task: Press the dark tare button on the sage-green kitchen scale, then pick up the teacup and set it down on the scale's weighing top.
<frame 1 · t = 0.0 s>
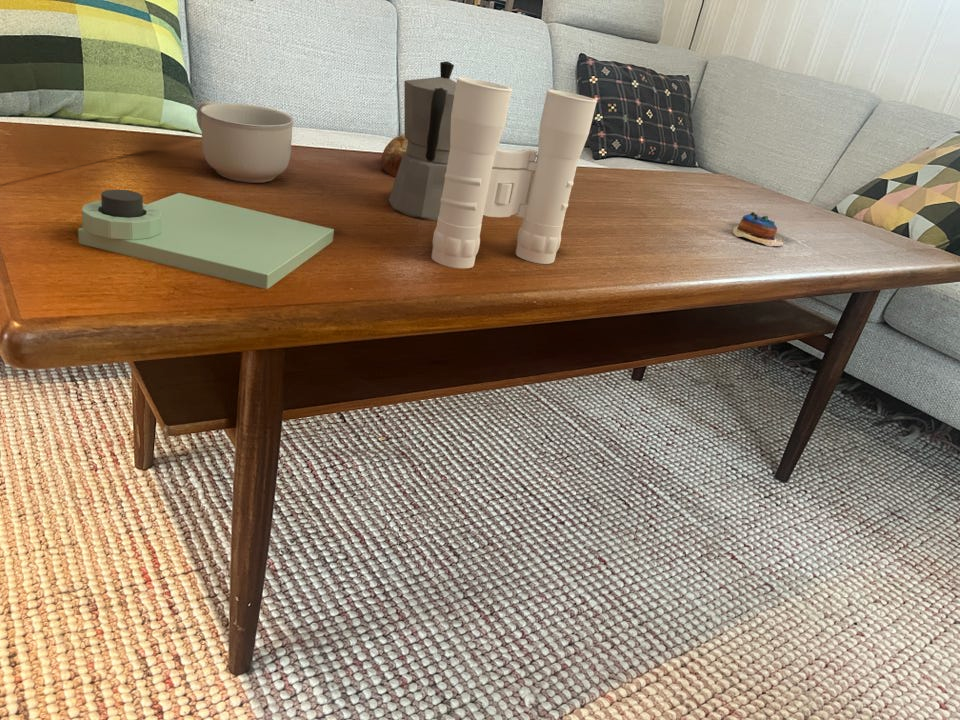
scale: (217, 243, 69), on the table
tare button: (122, 204, 63), point 4 cm above the table, slide at 0.1 cm
bread roll: (416, 176, 111), on the table
coffeepot: (423, 213, 93), on the table
dessert: (756, 240, 116), on the table
binoculars: (495, 260, 81), on the table
teacup: (237, 174, 93), on the table
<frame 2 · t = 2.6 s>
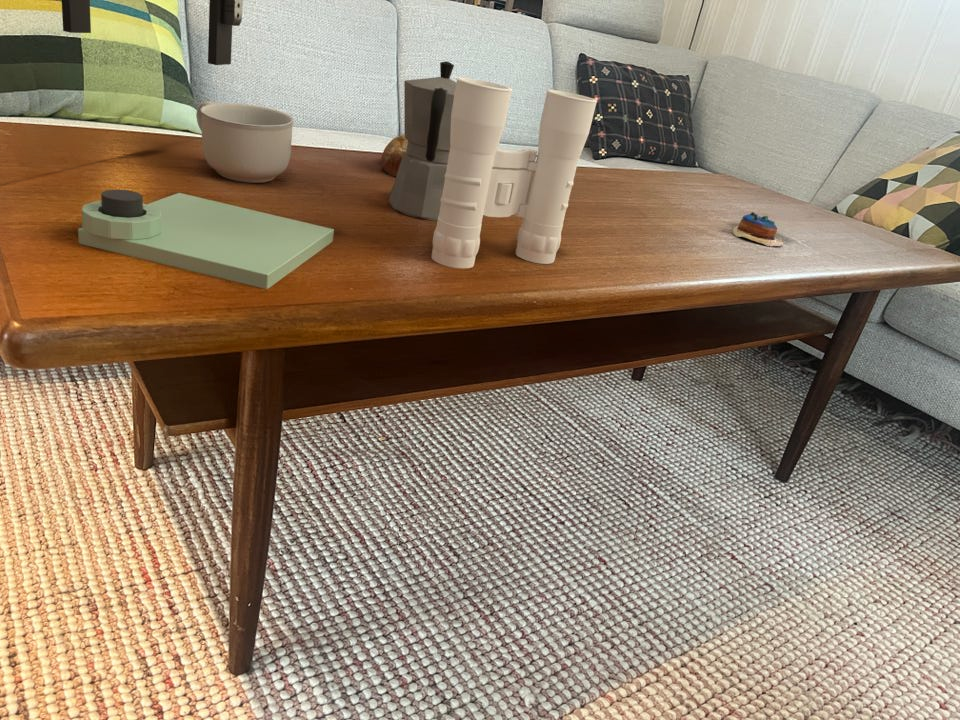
hand: (147, 48, 65), 16 cm above the table, tool pointing down, fingers open, 13 cm apart
nothing on the table moved.
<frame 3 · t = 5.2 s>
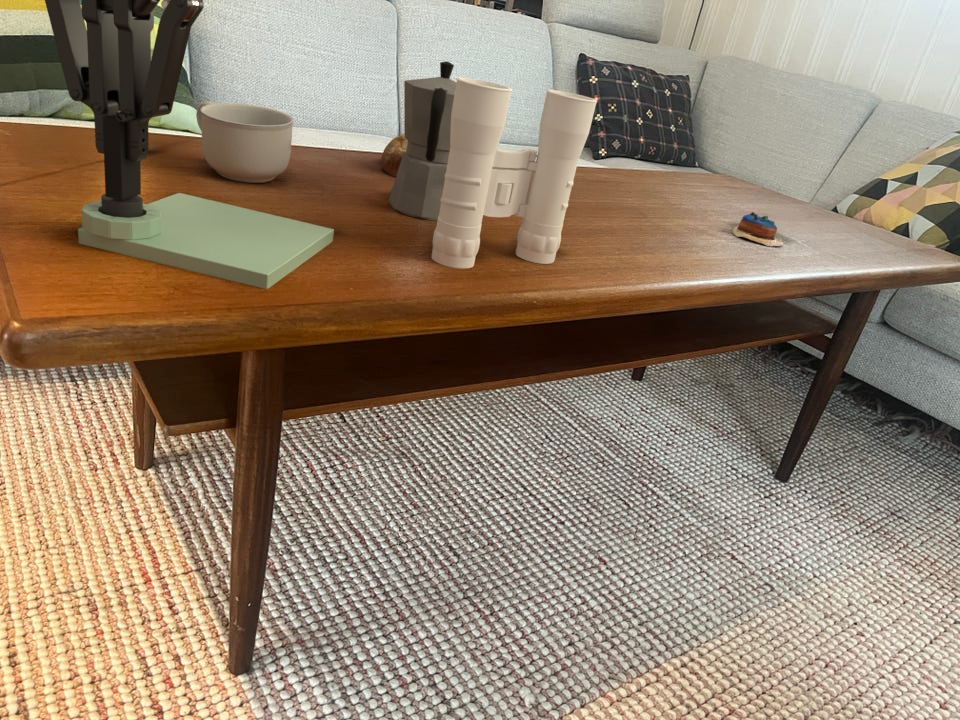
hand: (123, 195, 62), 4 cm above the table, tool pointing down, fingers closed
tare button: (122, 207, 63), point 3 cm above the table, slide at -0.1 cm, touching gripper
everything else where it was.
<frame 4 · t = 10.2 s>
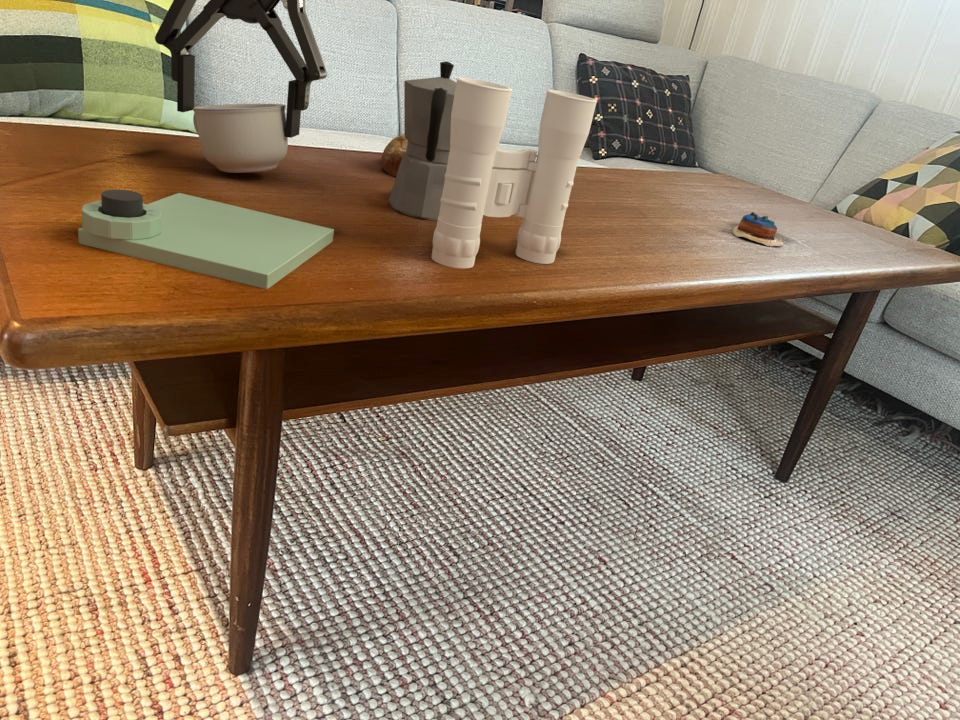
hand: (238, 124, 91), 6 cm above the table, tool pointing down, fingers open, 13 cm apart
tare button: (122, 204, 63), point 4 cm above the table, slide at 0.1 cm
teacup: (240, 171, 92), on the table, touching gripper
everything else where it was.
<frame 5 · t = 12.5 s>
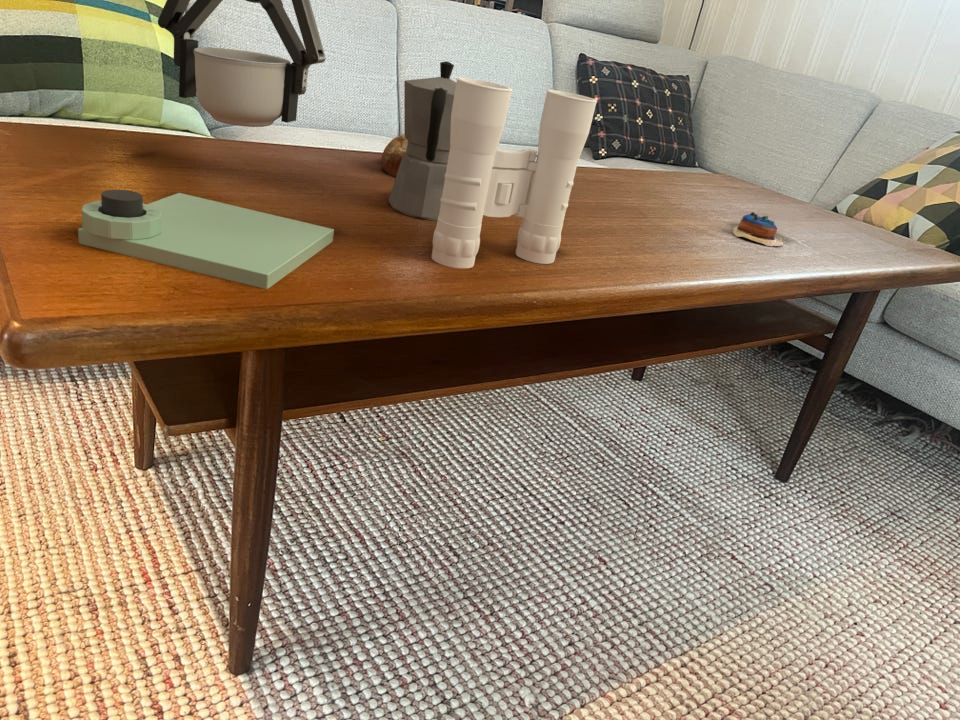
hand: (237, 109, 89), 8 cm above the table, tool pointing down, fingers closed on teacup, 12 cm apart
teacup: (234, 122, 89), point 6 cm above the table, touching gripper
everything else where it was.
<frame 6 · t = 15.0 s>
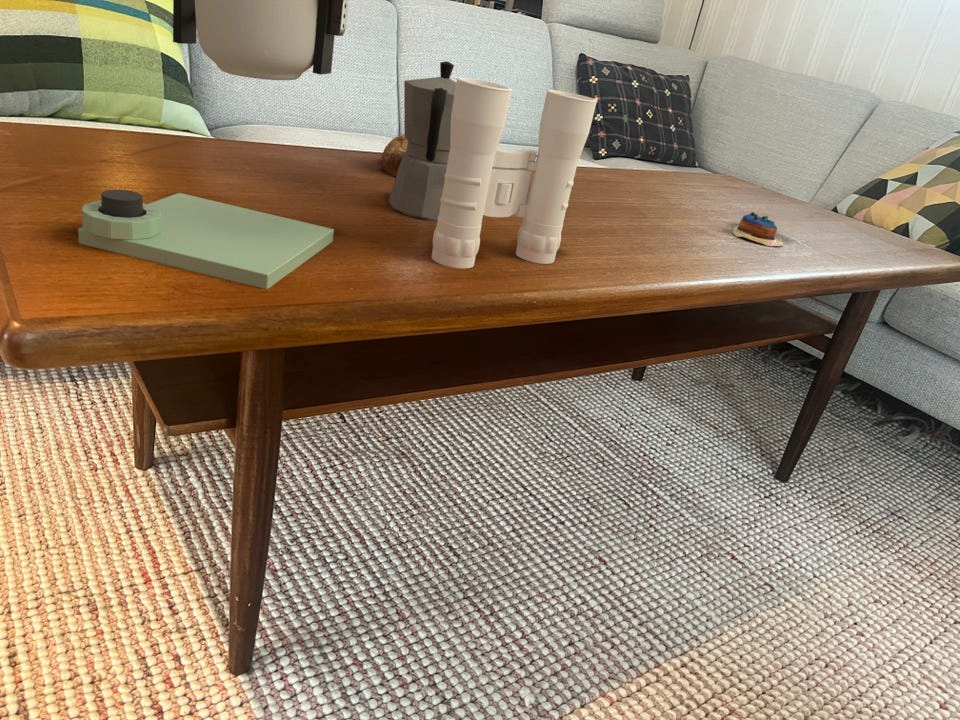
hand: (252, 58, 66), 16 cm above the table, tool pointing down, fingers closed on teacup, 12 cm apart
teacup: (249, 76, 67), point 15 cm above the table, touching gripper
everything else where it was.
when the fingers open (3 cm above the table, at t = 19.3 s): teacup stays where it is, resting on scale.
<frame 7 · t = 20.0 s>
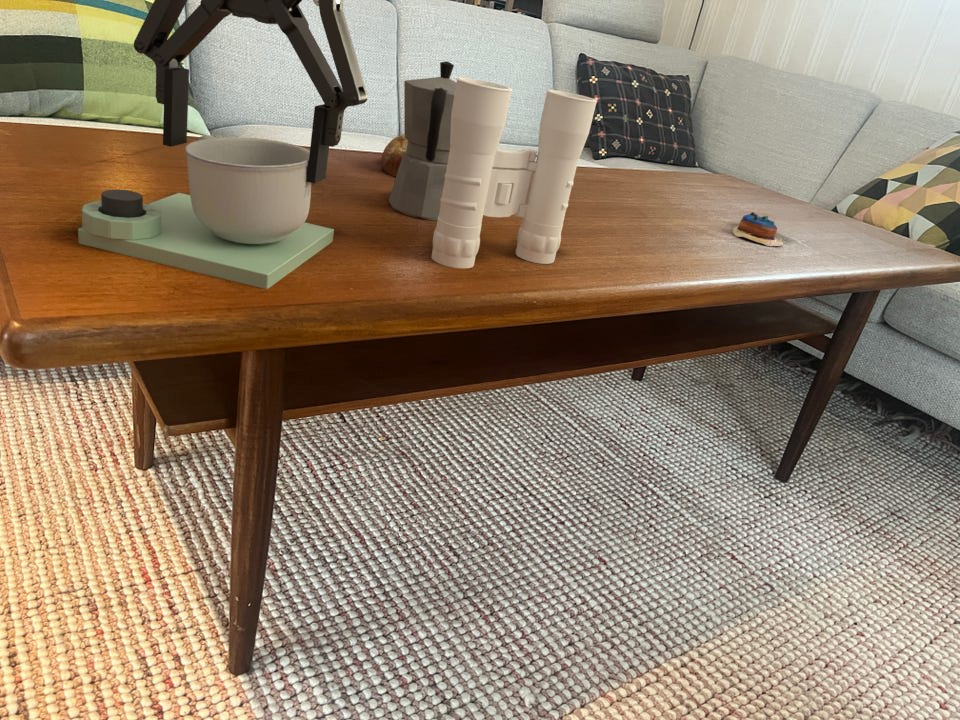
hand: (245, 162, 66), 8 cm above the table, tool pointing down, fingers open, 13 cm apart
teacup: (242, 232, 69), point 1 cm above the table, touching scale
everything else where it was.
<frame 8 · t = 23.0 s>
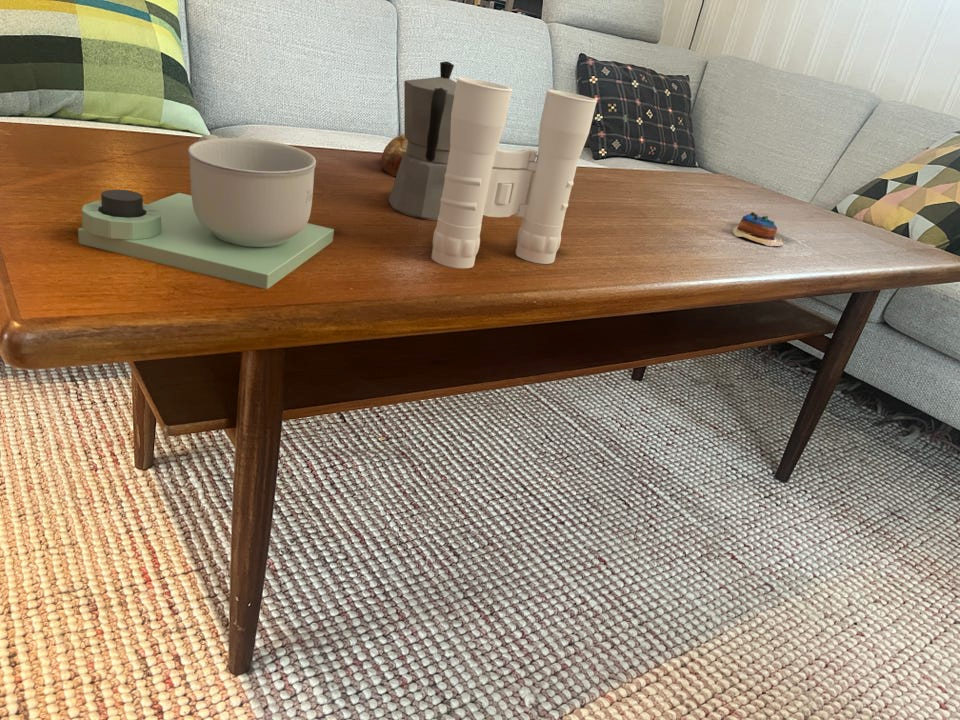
nothing on the table moved.
at the end: tare button pushed in 0.8 cm at the most during the clip, back to where it started at the end; teacup inside the target area on the scale (0.2 cm from its centre), point 1.2 cm above the scale's base; teacup tilted 0° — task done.
